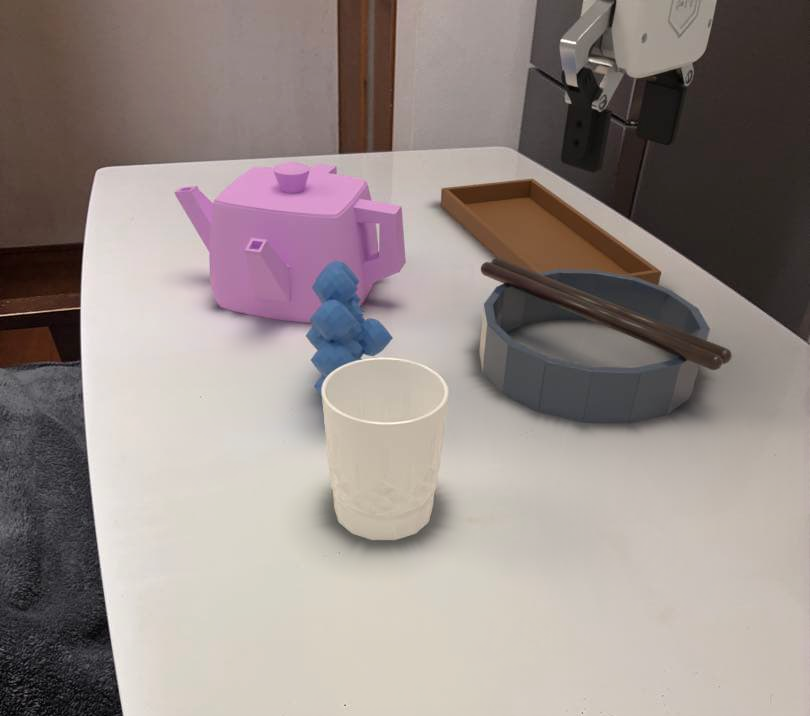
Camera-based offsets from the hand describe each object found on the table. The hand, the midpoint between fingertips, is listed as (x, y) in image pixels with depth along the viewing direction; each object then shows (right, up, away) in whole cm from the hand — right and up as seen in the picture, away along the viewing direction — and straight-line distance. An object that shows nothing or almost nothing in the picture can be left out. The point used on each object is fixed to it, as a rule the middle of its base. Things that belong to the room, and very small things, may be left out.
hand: (618, 153), depth 63 cm
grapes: (-20, -18, +7) cm, 28 cm away
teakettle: (-27, -5, +21) cm, 35 cm away
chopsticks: (0, -10, +9) cm, 13 cm away
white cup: (-17, -27, -4) cm, 32 cm away
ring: (0, -14, +12) cm, 18 cm away
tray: (-1, +4, +32) cm, 32 cm away
